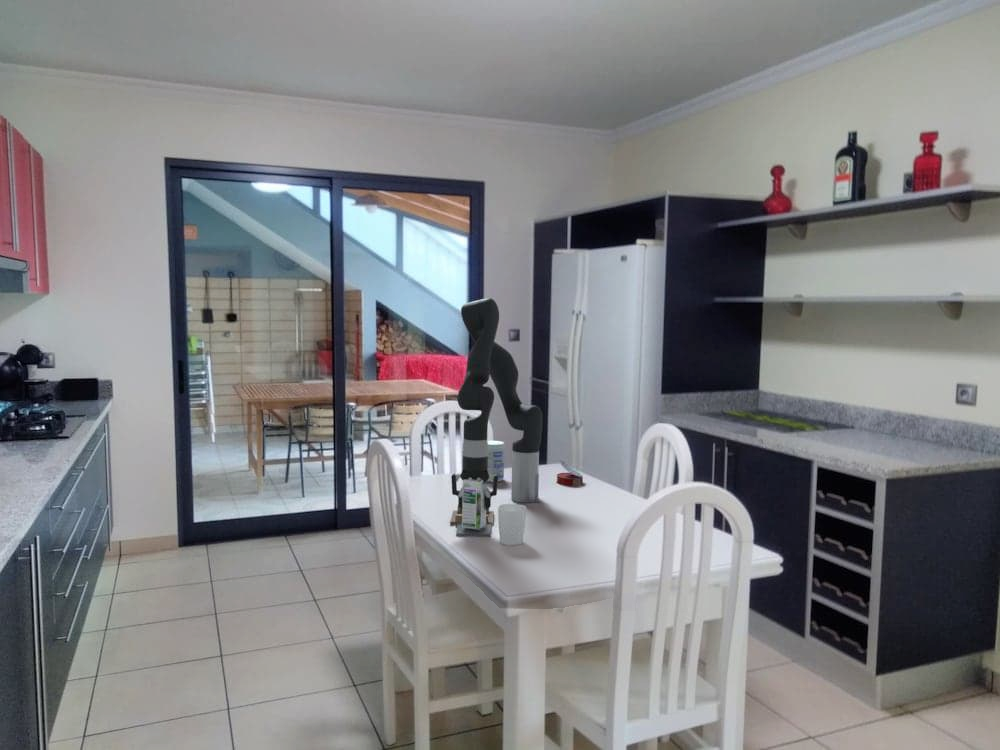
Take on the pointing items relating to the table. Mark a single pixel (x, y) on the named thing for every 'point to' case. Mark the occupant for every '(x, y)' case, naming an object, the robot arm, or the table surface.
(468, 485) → the syrup box
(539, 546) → the table surface
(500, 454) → the supplement tub
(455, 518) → the wooden picture frame
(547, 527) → the table surface
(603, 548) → the table surface
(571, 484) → the canned food
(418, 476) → the table surface
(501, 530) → the white cup
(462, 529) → the thin grey plate
